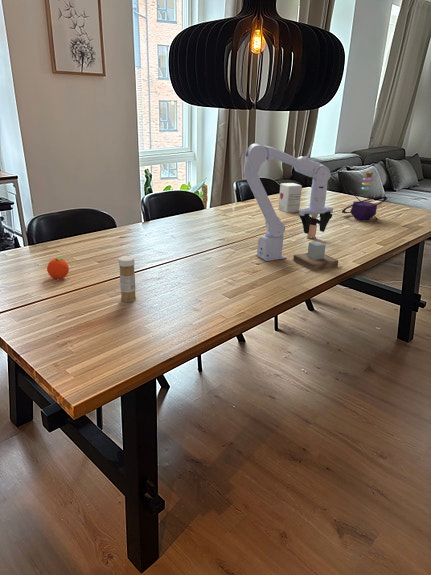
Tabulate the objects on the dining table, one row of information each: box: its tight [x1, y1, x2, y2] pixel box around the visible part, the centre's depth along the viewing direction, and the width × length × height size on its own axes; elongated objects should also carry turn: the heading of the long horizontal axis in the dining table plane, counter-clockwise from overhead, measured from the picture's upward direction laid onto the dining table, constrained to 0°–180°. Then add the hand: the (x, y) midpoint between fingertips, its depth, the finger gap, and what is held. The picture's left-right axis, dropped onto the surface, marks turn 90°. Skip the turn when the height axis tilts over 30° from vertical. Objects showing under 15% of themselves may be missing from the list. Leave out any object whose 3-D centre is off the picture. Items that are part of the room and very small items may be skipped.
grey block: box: [307, 241, 327, 260], centre depth 170 cm, size 4×4×6 cm
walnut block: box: [292, 252, 339, 272], centre depth 171 cm, size 12×12×3 cm
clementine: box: [46, 257, 70, 280], centre depth 149 cm, size 8×7×7 cm
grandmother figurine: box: [305, 214, 320, 240], centre depth 201 cm, size 8×4×13 cm, turn 105°
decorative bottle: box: [341, 171, 388, 222], centre depth 235 cm, size 22×21×25 cm
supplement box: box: [277, 182, 303, 214], centre depth 251 cm, size 9×9×15 cm
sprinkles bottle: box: [118, 255, 137, 303], centre depth 133 cm, size 5×5×13 cm
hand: (314, 232), depth 174 cm, fingers open, 7 cm apart
